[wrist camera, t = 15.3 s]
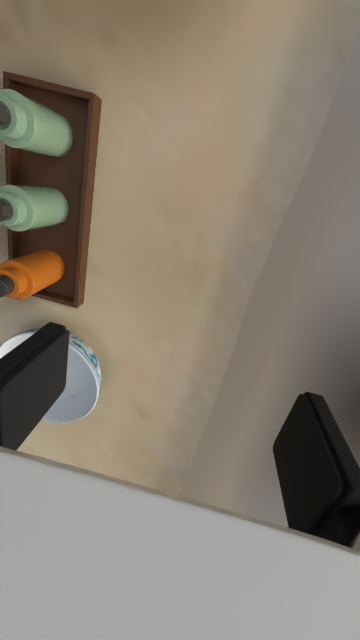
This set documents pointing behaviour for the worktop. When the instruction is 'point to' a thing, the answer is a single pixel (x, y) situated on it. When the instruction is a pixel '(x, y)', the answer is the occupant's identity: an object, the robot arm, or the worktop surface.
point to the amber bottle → (30, 273)
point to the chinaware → (70, 380)
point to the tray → (59, 184)
